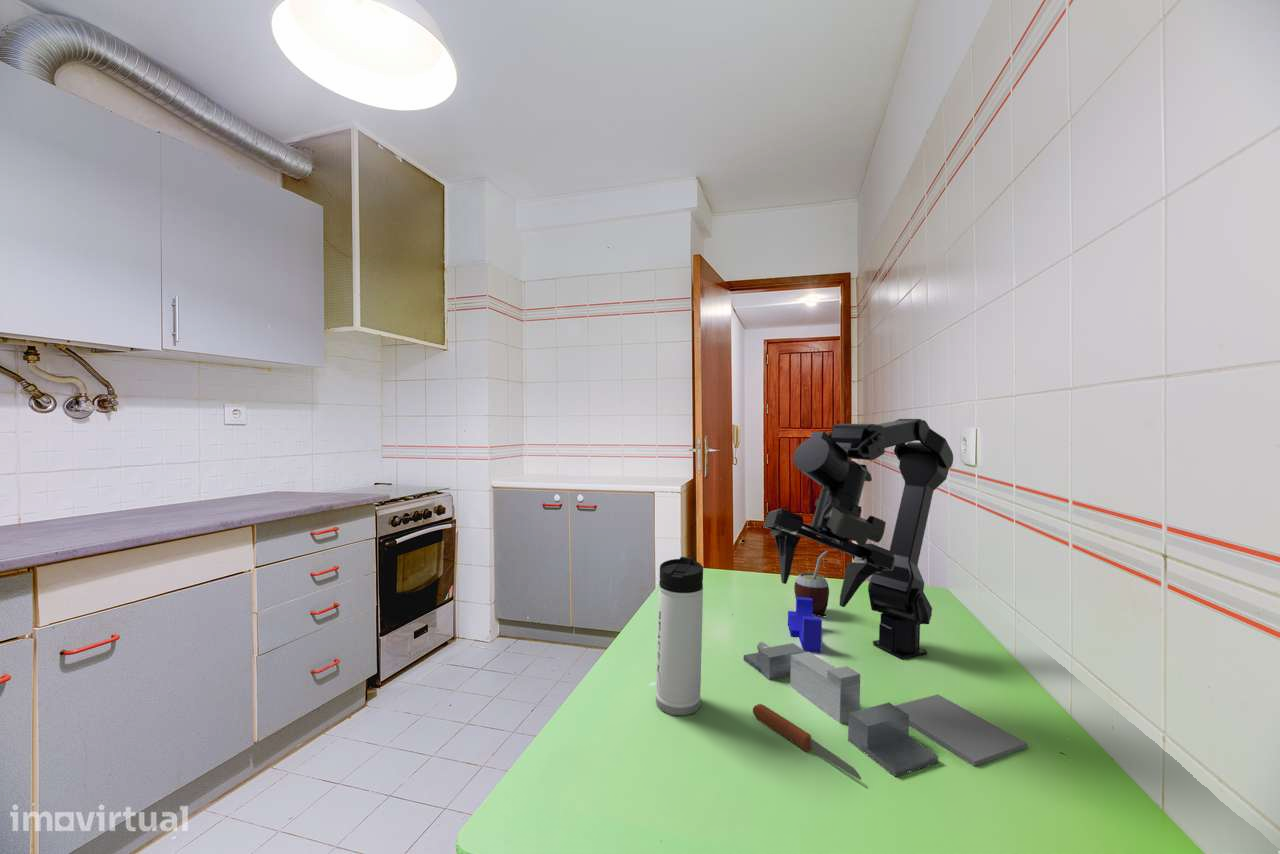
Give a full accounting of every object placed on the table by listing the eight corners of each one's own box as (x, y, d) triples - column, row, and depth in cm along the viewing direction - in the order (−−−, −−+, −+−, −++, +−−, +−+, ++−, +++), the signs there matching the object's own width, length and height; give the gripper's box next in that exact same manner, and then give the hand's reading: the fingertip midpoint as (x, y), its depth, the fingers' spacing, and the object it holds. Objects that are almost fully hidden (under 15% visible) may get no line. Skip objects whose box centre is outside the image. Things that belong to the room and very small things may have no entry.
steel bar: (808, 683, 77) (809, 643, 77) (859, 719, 67) (860, 674, 67) (790, 687, 75) (791, 647, 75) (839, 724, 66) (840, 678, 66)
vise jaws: (777, 653, 86) (777, 633, 86) (938, 762, 59) (938, 733, 59) (743, 659, 84) (744, 639, 84) (895, 777, 56) (896, 746, 56)
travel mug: (704, 695, 72) (708, 559, 72) (694, 720, 66) (698, 571, 66) (663, 687, 74) (667, 554, 74) (650, 710, 68) (653, 565, 68)
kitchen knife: (751, 717, 67) (751, 703, 67) (758, 714, 68) (758, 700, 68) (857, 789, 54) (857, 771, 54) (864, 785, 55) (865, 767, 55)
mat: (937, 698, 73) (937, 694, 73) (1027, 747, 62) (1027, 742, 62) (888, 711, 69) (888, 707, 69) (974, 766, 58) (974, 761, 58)
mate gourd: (799, 605, 111) (801, 538, 111) (836, 613, 107) (838, 544, 107) (788, 614, 105) (790, 544, 105) (826, 624, 100) (828, 550, 101)
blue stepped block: (787, 625, 100) (788, 596, 100) (810, 627, 99) (811, 598, 99) (794, 651, 88) (795, 618, 88) (821, 654, 87) (821, 620, 87)
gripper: (803, 467, 70) (771, 574, 66) (928, 515, 69) (903, 626, 65) (777, 478, 81) (748, 570, 77) (885, 520, 80) (861, 615, 76)
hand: (812, 594), depth 73 cm, fingers open, 9 cm apart
